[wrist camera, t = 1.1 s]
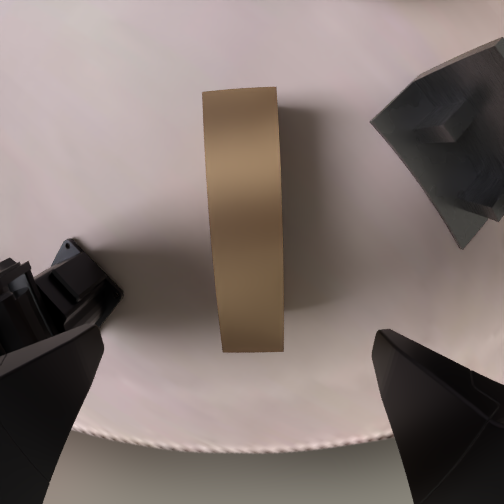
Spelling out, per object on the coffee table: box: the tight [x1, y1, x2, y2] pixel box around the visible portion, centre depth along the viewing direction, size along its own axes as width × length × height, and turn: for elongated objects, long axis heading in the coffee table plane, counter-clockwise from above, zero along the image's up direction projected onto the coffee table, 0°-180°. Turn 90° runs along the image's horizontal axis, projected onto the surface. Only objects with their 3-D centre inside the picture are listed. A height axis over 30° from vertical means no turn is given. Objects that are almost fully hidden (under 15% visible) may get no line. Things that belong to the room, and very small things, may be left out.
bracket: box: [370, 37, 504, 250], centre depth 12 cm, size 6×12×9 cm, turn 46°
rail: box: [202, 87, 284, 353], centre depth 17 cm, size 14×4×5 cm, turn 3°
